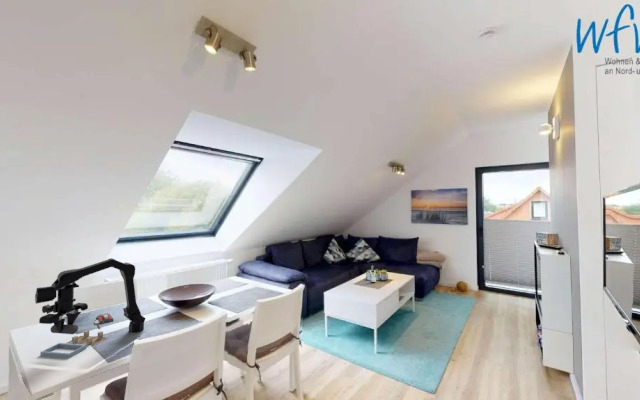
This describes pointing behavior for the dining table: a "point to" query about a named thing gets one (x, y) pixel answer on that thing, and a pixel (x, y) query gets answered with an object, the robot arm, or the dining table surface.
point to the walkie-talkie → (103, 319)
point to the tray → (64, 355)
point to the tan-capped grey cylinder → (65, 329)
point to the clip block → (87, 339)
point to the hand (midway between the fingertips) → (64, 330)
